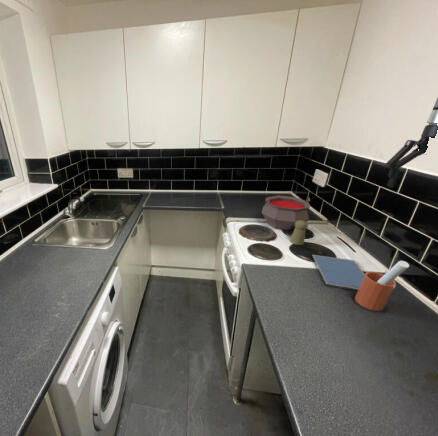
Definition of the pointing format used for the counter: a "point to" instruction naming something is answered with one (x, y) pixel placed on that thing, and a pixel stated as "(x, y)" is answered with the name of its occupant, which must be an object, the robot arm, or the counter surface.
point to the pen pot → (373, 292)
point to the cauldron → (285, 211)
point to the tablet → (339, 272)
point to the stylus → (393, 272)
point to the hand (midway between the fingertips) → (414, 188)
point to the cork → (299, 232)
